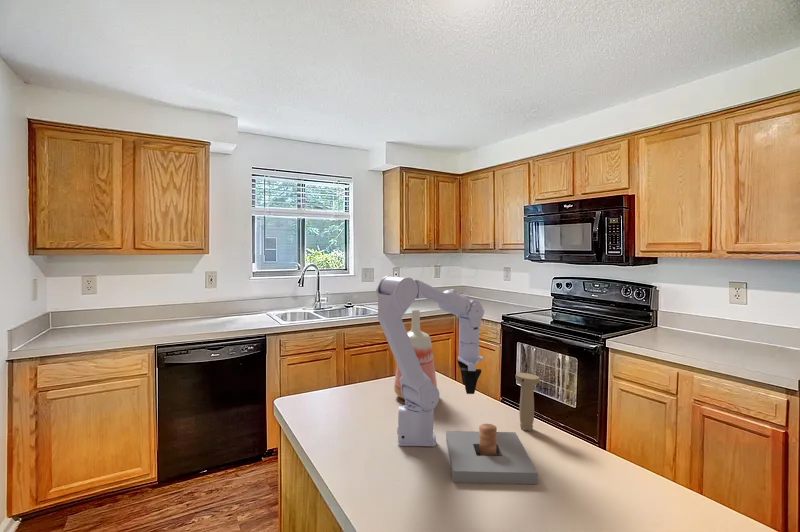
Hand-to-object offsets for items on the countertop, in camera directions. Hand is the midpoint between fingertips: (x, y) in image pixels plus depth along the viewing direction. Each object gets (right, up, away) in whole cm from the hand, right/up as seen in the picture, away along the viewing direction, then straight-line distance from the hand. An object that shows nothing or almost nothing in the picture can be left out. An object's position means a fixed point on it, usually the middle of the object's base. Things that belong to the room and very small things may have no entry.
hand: (468, 389), depth 119 cm
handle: (+16, -11, -2) cm, 19 cm away
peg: (+1, -11, -20) cm, 23 cm away
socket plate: (+1, -11, -20) cm, 23 cm away
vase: (-14, -10, +23) cm, 29 cm away
